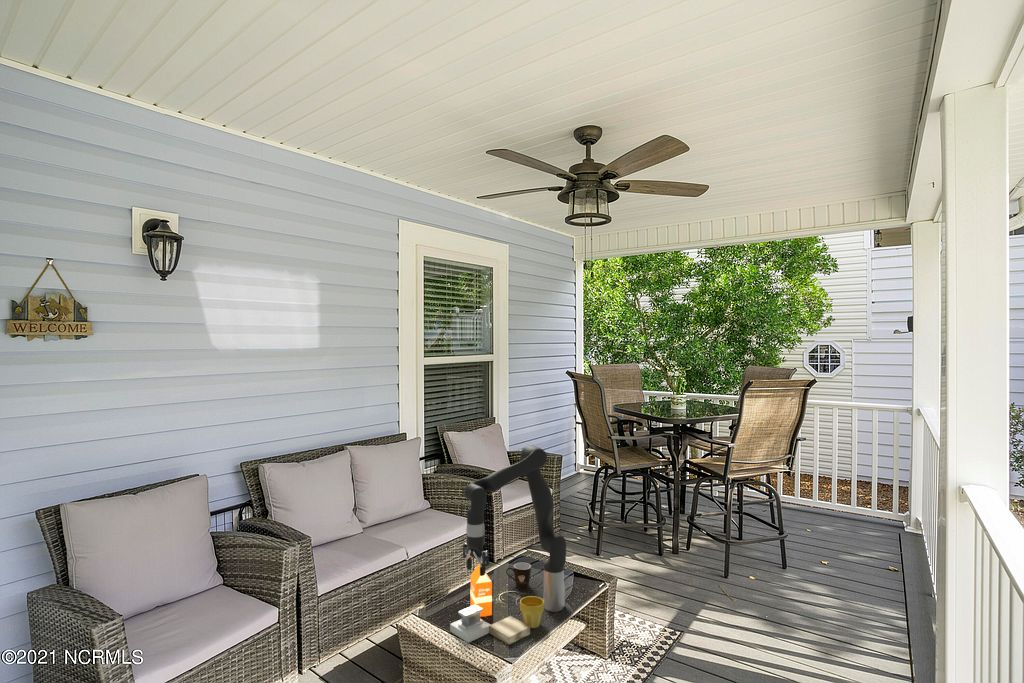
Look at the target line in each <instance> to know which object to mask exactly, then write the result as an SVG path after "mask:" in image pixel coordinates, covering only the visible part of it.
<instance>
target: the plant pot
mask: <svg viewBox="0 0 1024 683" xmlns="http://www.w3.org/2000/svg"><path fill="white" fill-rule="evenodd" d="M519 610H520V611H521V615H522V622H523V623H525V624H526V625H528V626H530V629H537V628H539V627H540V624H541V619H542V616H543V615H542V614H543V612H544V611H545V609H544V600H543V598H542V597H540V596H535V595H532V596H531V595H530V596H525V597H522V598H520V600H519Z"/></svg>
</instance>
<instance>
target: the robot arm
mask: <svg viewBox="0 0 1024 683" xmlns="http://www.w3.org/2000/svg"><path fill="white" fill-rule="evenodd" d="M547 460H548V454H547V452H546V451H545V450H544V449H542V448H541V447H537V446H534V445H532V444H531V445H529V444H528V445H526V446H525V445H524V447H523V448H521V452H520V461H518V462H516V463H514V464H511V465H507V466H504V467H502V468H500V469H497V470H495V471H493V472H492V473H490V474H489V475H487V476H486V477H483V478H479V479H478V480H475V481H472V482H471V483H469V484H468V485H467V486H466V487H465V488H464V493H463V494H464V497H465V499H466V500H468V501H469V502H470V507H469V508H468V509H467V511H466V529H465V530H466V532H465V533H466V535H465V536H466V542H465V543H463V544H462V558H463V559H464V560H465V561H466V563H465V564H466V565H465V566H466V569H467V570H468V571H469V570H472V568H473V561H472V559H475V561H476V562H477V564H478V563H479V565H480V576H483V575H485V573H486V567H488V566H490V557H489V556H490V555H489V550H484V545H485V538H486V537H485V536H486V535H485V534H486V533H485V530H486V529H485V515H484V514H485V513H484V512H485V510H486V505H487V504H486V503H487V498H488V497H487V493H494V492H496V491H498V490H499V489H501V488H503V487H504V486H507V485H508V484H509V483H511V482H512V481H515V480H517V479H518V478H521V477H522V476H525V475H526V479H527V480H526V481H527V483H528V488H529V493H530V496H531V502H532V506H533V510H534V513H535V514H534V515H535V518H536V523H537V528H538V537H539V544H540V546H541V548H542V549H543V551H544V552H546V553H548V554H549V557H548V559H547V560H545V561H544V562H543V584H542V585H543V588H542V589H543V591H542V592H543V593H542V595H543V596H542V599H543V600H544V610H545V611H548V612H552V613H553V612H555V613H557V612H560V611H563V610H564V607H565V606H566V585H565V583H564V582H565V581H564V580H565V579H564V578H565V573H564V572H565V564H566V562H567V560H566V558H567V542H566V539H565V537H564V536H563V535H561V534H558V532H557V533H556V532H555V530H554V527H553V524H552V523H553V522H552V516H553V512H554V507H555V506H554V505H555V504H554V499H553V495H552V491H551V488H550V486H549V485H548V483H547V481H546V480H545V477H544V476H543V474H542V471H541V468H542V467H544V466H545V465H546V463H547Z"/></svg>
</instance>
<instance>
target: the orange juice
mask: <svg viewBox="0 0 1024 683" xmlns="http://www.w3.org/2000/svg"><path fill="white" fill-rule="evenodd" d="M469 592H470V596H469V597H470V606H472V605H475V604H476V605H478V606H480V607H481V608H483V612H480V618H481V617H488V616H492V615H493V614H492V613H493V610H492V609H493V606H492V605H493V581H492V580H491V579H490V577H489V575H488V574H487V572H485V575H483V576H480V565H479V563H478V562H477V565H476V567H475V569H474V570H473V571H472V573H471V575H470V591H469ZM470 606H469V607H470Z"/></svg>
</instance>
